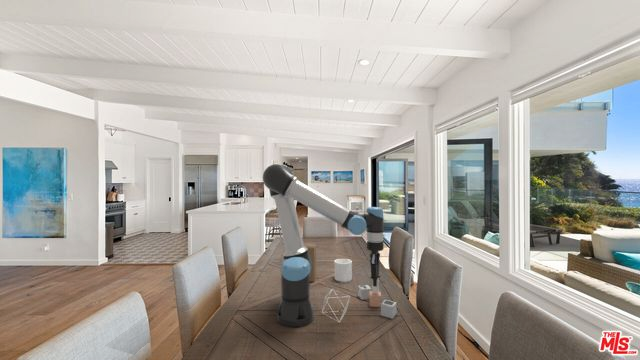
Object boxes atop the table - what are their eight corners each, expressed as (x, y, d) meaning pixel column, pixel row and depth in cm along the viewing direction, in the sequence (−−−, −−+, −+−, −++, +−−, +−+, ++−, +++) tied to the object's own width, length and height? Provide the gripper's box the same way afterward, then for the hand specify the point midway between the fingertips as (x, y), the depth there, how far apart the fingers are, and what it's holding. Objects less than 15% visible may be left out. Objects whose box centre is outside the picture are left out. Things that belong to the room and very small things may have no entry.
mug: (353, 281, 155) (353, 263, 155) (335, 282, 155) (335, 263, 155) (349, 274, 168) (349, 257, 168) (333, 274, 167) (333, 257, 167)
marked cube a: (392, 319, 114) (392, 306, 114) (380, 315, 117) (380, 303, 117) (396, 314, 118) (396, 301, 118) (385, 311, 121) (385, 298, 121)
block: (316, 276, 164) (316, 242, 164) (314, 282, 154) (314, 246, 154) (299, 276, 165) (299, 242, 165) (296, 282, 155) (296, 246, 155)
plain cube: (380, 307, 124) (380, 296, 124) (369, 306, 125) (369, 295, 125) (380, 302, 129) (380, 291, 129) (369, 301, 130) (369, 291, 130)
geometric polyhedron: (317, 318, 114) (317, 296, 114) (326, 307, 124) (326, 287, 124) (346, 324, 110) (346, 301, 110) (353, 312, 120) (353, 291, 120)
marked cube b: (371, 299, 133) (371, 288, 133) (361, 300, 132) (361, 288, 132) (367, 295, 138) (367, 284, 138) (358, 295, 137) (358, 284, 137)
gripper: (381, 244, 120) (381, 299, 120) (385, 238, 132) (385, 288, 132) (364, 243, 122) (364, 296, 122) (369, 237, 135) (369, 286, 135)
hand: (375, 292), depth 127 cm, fingers closed
